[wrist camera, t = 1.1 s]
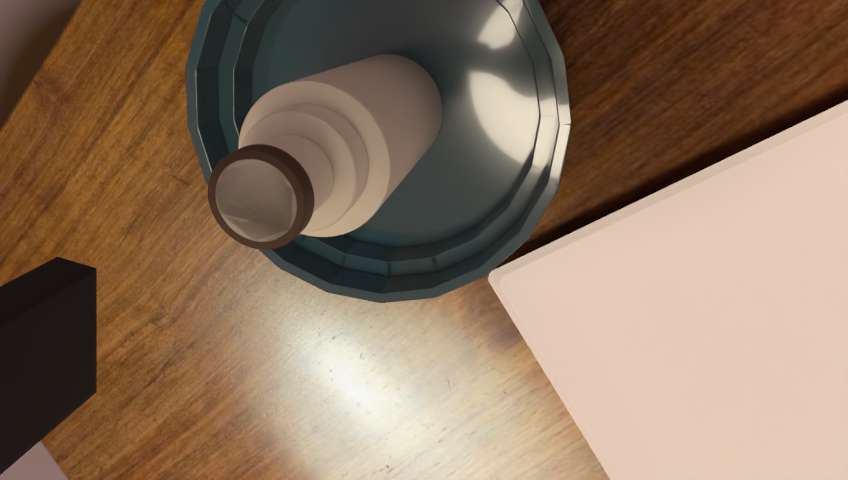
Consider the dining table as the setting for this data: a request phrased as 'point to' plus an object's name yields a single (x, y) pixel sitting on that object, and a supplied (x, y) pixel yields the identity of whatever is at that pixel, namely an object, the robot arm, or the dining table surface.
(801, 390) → the beige square board
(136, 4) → the dining table surface
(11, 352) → the robot arm
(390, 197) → the bowl
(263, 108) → the bottle
